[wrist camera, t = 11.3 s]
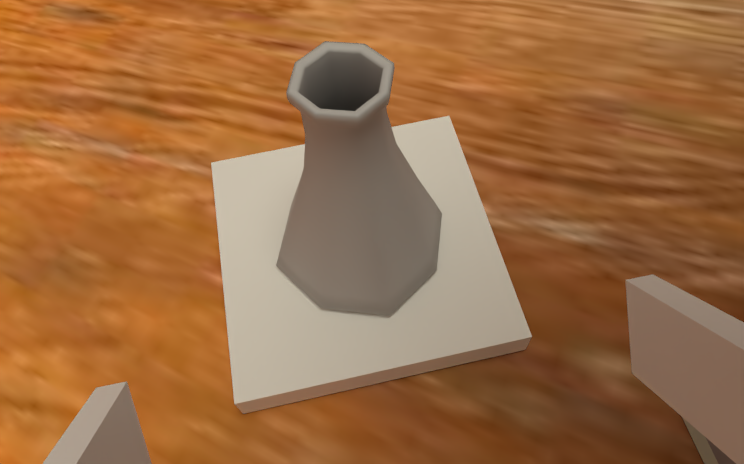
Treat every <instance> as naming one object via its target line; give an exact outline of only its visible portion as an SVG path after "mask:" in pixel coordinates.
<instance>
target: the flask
mask: <svg viewBox="0 0 744 464" xmlns="http://www.w3.org/2000/svg"><path fill="white" fill-rule="evenodd" d="M393 74H394V63H393V62H391V61H390V60H388V59H387V58H385V57H384V56H382V55H381V54H379V53H378V52H376V51H375V50H373V49H372V48H370V47H369V46H367V45H366V44H359V43H343V42H327V41H325V42H323V43H322V44H321V45H319V46H318V47H316V48H315V49H314V50H312V51H311V52H309V53H308V54H307V55H305V56H304V57H302V58H301V59H299V60H298V61H297V62H295V64H294V68H293V72H292V75H291V79H290V82H289V86H288V89H287V93H286V94H287V99H288V100H289V102H290V104H292V105H293V106H294V107H296V108H297V109H298V110H299V111H301V115H302V120H303V125H304V130H305V153H304V168H303V171H302V175H301V178H300V181H299V184H298V187H297V189H296V192H295V195H294V198H293V201H292V204H291V208H290V211H289V216H288V220H287V224H286V228H285V232H284V236H283V240H282V244H281V248H280V252H279V256H278V260H277V264H276V266H277V267H278V268H279V269H280V270H281V271H282V272H283V273H284V274H285V275H287V276H288V277H289V278H290V279H291V280H292V281H293V282H294V283H295V284H296V285H297V286H298V287H299V288H300V289H301V290H302V291H303V292H305V293H306V294H307V295H308V296H309V297H310V298H311V299H312V300H313V301H314V302H315V303H316V304H317V305H318V306H319V307H320V308H325V309H334V310H343V311H352V312H361V313H370V314H379V315H388V316H390V315H391V314H392V313H393V312H394V311H395V310H396V309H397V308H398V307H399V306H400V305H401V304H402V303H403V302H404V301H405V300H406V299H408V298H409V297H410V296H411V295H412V294H413V293H414V292H415V291H416V290H417V289H418V288H419V287H420V286H421V285H422V284H423V283H424V282H425V281H426V280H427V279H428V278H429V277H430V276H431V275H432V274H433V273H434V272H435V271H436V270H437V261H438V250H439V240H440V229H441V219H442V213H441V211H440V210H439V208H438V206H437V205H436V203H435V202H434V200H433V199H432V198H431V196H430V195H429V193H428V192H427V191H426V189H425V188H424V186H423V185H422V184H421V182H420V181H419V179H418V178H417V176H416V174H415V173H414V171H413V170H412V168H411V166H410V165H409V163H408V161H407V160H406V158H405V157H404V155H403V153H402V152H401V150H400V148H399V147H398V145H397V143H396V140H395V137H394V134H393V131H392V128H391V124H390V121H389V118H388V115H387V111H386V106H387V105H388V102H389V98H390V92H391V86H392V80H393Z"/></svg>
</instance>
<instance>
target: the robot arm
mask: <svg viewBox="0 0 744 464" xmlns="http://www.w3.org/2000/svg"><path fill="white" fill-rule="evenodd" d="M625 281H626V296H627V310H628V324H629V339H630V353H631V368H632V374H633V375H634V376H635V377H637V378H638V379H639V380H640V381H641V382H642V383H644V384H645V385H646V386H647V387H648V388H649V389H650V390H652V391H653V392H654V393H655V394H656V395H657V396H659V397H660V398H661V399H662V400H663V401H664V402H666V403H667V404H668V405H669V406H670V407H671V408H672V409H674V410H675V411H676V412H677V413H678V414H679V415H681V416H682V417H683V418H684V419H685V420H686V421H687V422H689V423H690V424H691V425H692V426H693V427H694V428H696V429H697V430H698V431H699V432H700V433H701V434H702V435H704V436H705V437H706V438H707V439H708V440H709V441H711V442H712V443H713V444H714V445H715V446H716V447H718V448H719V449H720V450H721V451H722V452H723V453H724V454H726V455H727V456H728V457H729V458H730V459H731V460H733V461H734V462H735V463H736V464H744V322H742V321H740V320H738V319H736V318H734V317H733V316H731V315H729V314H727V313H725V312H723V311H721V310H719V309H717V308H716V307H714V306H712V305H710V304H708V303H706V302H704V301H702V300H700V299H698V298H697V297H695V296H693V295H691V294H689V293H687V292H685V291H683V290H681V289H680V288H678V287H676V286H674V285H672V284H670V283H668V282H666V281H664V280H663V279H661V278H659V277H657V276H655V275H653V274H652V275H648V276H643V277H638V278H633V279H628V280H625ZM43 464H152V463H151V460H150V457H149V453H148V450H147V447H146V443H145V440H144V437H143V433H142V430H141V427H140V423H139V420H138V417H137V413H136V410H135V407H134V403H133V400H132V397H131V393H130V390H129V387H128V383H127V382H122V383H117V384H112V385H108V386H103V387H98V388H96V389H95V390H94V392H93V393H92V394H91V396H90V397H89V399H88V400H87V401H86V403H85V404H84V406H83V407H82V409H81V410H80V411H79V413H78V414H77V416H76V417H75V418H74V420H73V421H72V423H71V424H70V426H69V427H68V428H67V430H66V431H65V433H64V434H63V435H62V437H61V438H60V440H59V441H58V443H57V444H56V445H55V447H54V448H53V450H52V451H51V453H50V454H49V455H48V457H47V458H46V460H45V461H44V462H43Z"/></svg>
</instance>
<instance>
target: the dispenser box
mask: <svg viewBox="0 0 744 464" xmlns="http://www.w3.org/2000/svg"><path fill="white" fill-rule="evenodd" d="M682 418H683V417H682ZM683 420H684V423H685V425H686V427H687V429H688V431H689V433H690V435H691V437H692V439H693V441H694V443H695V446H696V448H697V450H698V452H699V454H700V456H701V458H702V460H703V462H704V464H736V463H735V462H734V461H733V460H731V459H730V458H729V457H728V456H727V455H726V454H724V453H723V452H722V451H721V450H720V449H719V448H718V447H716V446H715V445H714V444H713V443H712V442H711V441H709V440H708V439H707V438H706V437H705V436H704V435H702V434H701V433H700V432H699V431H698V430H697V429H696V428H694V427H693V426H692V425H691V424H690V423H689V422H687V421H686V420H685V419H684V418H683Z"/></svg>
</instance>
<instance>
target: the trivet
mask: <svg viewBox="0 0 744 464" xmlns="http://www.w3.org/2000/svg"><path fill="white" fill-rule="evenodd" d="M391 128H392V131H393V134H394V137H395V140H396V143H397V145H398V147H399V148H400V150H401V152H402V153H403V155H404V157H405V158H406V160H407V161H408V163H409V165H410V166H411V168H412V170H413V171H414V173H415V174H416V176H417V178H418V179H419V181H420V182H421V184H422V185H423V186H424V188H425V189H426V191H427V192H428V193H429V195H430V196H431V198H432V199H433V200H434V202H435V203H436V205H437V206H438V208H439V210H440V211H441V213H442V219H441V229H440V240H439V250H438V261H437V270H436V271H435V272H434V273H433V274H432V275H431V276H430V277H429V278H428V279H427V280H426V281H425V282H424V283H423V284H422V285H421V286H420V287H419V288H418V289H417V290H416V291H415V292H414V293H413V294H412V295H411V296H410V297H409V298H408V299H406V300H405V301H404V302H403V303H402V304H401V305H400V306H399V307H398V308H397V309H396V310H395V311H394V312H393V313H392V314H391V315H390V316H388V315H379V314H370V313H361V312H352V311H343V310H334V309H325V308H320V307H319V306H318V305H317V304H316V303H315V302H314V301H313V300H312V299H311V298H310V297H309V296H308V295H307V294H306V293H305V292H303V291H302V290H301V289H300V288H299V287H298V286H297V285H296V284H295V283H294V282H293V281H292V280H291V279H290V278H289V277H288V276H287V275H285V274H284V273H283V272H282V271H281V270H280V269H279V268H278V267H277V266H276V264H277V260H278V256H279V252H280V248H281V244H282V240H283V236H284V232H285V228H286V224H287V220H288V216H289V211H290V208H291V204H292V201H293V198H294V195H295V192H296V189H297V187H298V184H299V181H300V178H301V175H302V171H303V168H304V153H305V144H304V145H299V146H294V147H289V148H283V149H278V150H273V151H268V152H263V153H258V154H253V155H248V156H243V157H238V158H233V159H228V160H223V161H218V162H212V163H211V165H212V175H213V186H214V196H215V207H216V217H217V227H218V238H219V248H220V259H221V269H222V279H223V290H224V300H225V311H226V321H227V332H228V342H229V352H230V363H231V373H232V384H233V394H234V404H235V405H236V406H237V407H238V408H239V410H240V411H241V412H242V413H243V414H245V413H249V412H254V411H258V410H262V409H267V408H271V407H276V406H280V405H284V404H289V403H293V402H298V401H302V400H306V399H311V398H315V397H320V396H324V395H328V394H333V393H337V392H342V391H346V390H350V389H355V388H359V387H363V386H368V385H372V384H377V383H381V382H385V381H390V380H394V379H399V378H403V377H407V376H412V375H416V374H421V373H425V372H429V371H434V370H438V369H443V368H447V367H451V366H456V365H460V364H465V363H469V362H473V361H478V360H482V359H487V358H491V357H495V356H500V355H504V354H509V353H513V352H517V351H522V350H526V348H527V346H528V344H529V342H530V340H531V338H532V335H531V333H530V330H529V327H528V325H527V322H526V319H525V317H524V314H523V311H522V309H521V306H520V303H519V301H518V298H517V295H516V293H515V290H514V287H513V285H512V282H511V279H510V277H509V274H508V271H507V269H506V266H505V263H504V261H503V258H502V255H501V253H500V250H499V247H498V245H497V242H496V239H495V237H494V234H493V231H492V229H491V226H490V223H489V221H488V218H487V215H486V213H485V210H484V207H483V205H482V202H481V199H480V197H479V194H478V191H477V189H476V186H475V183H474V181H473V178H472V175H471V173H470V170H469V167H468V165H467V162H466V159H465V157H464V154H463V151H462V149H461V146H460V143H459V141H458V138H457V135H456V133H455V130H454V127H453V125H452V122H451V119H450V117H449V116H446V117H441V118H436V119H430V120H425V121H420V122H415V123H410V124H405V125H400V126H395V127H391Z"/></svg>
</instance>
